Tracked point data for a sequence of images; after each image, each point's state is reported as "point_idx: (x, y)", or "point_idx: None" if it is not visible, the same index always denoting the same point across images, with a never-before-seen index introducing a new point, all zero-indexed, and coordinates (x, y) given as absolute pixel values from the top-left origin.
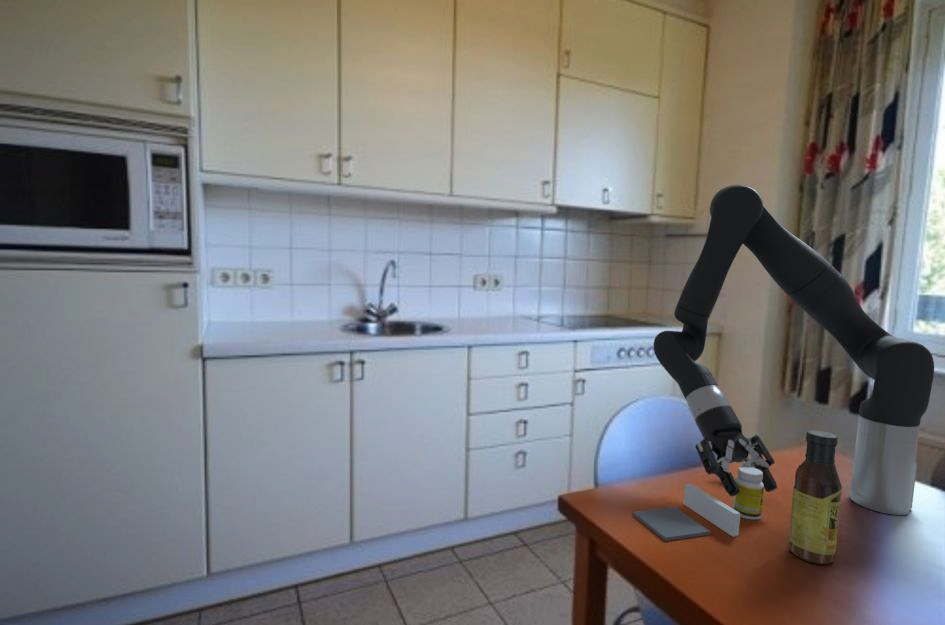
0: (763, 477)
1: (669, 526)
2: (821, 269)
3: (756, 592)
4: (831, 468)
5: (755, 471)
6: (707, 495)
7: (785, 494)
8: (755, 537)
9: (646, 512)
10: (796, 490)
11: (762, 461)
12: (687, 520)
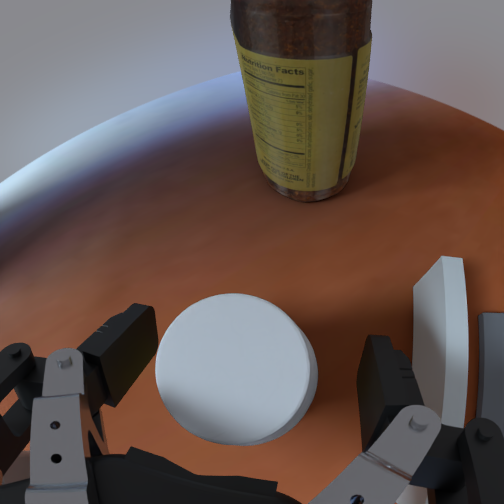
0: (125, 364)
1: None
2: None
3: (491, 153)
4: None
5: (215, 339)
6: (453, 410)
7: None
8: (371, 266)
9: None
10: (369, 42)
11: (59, 377)
12: (499, 379)
